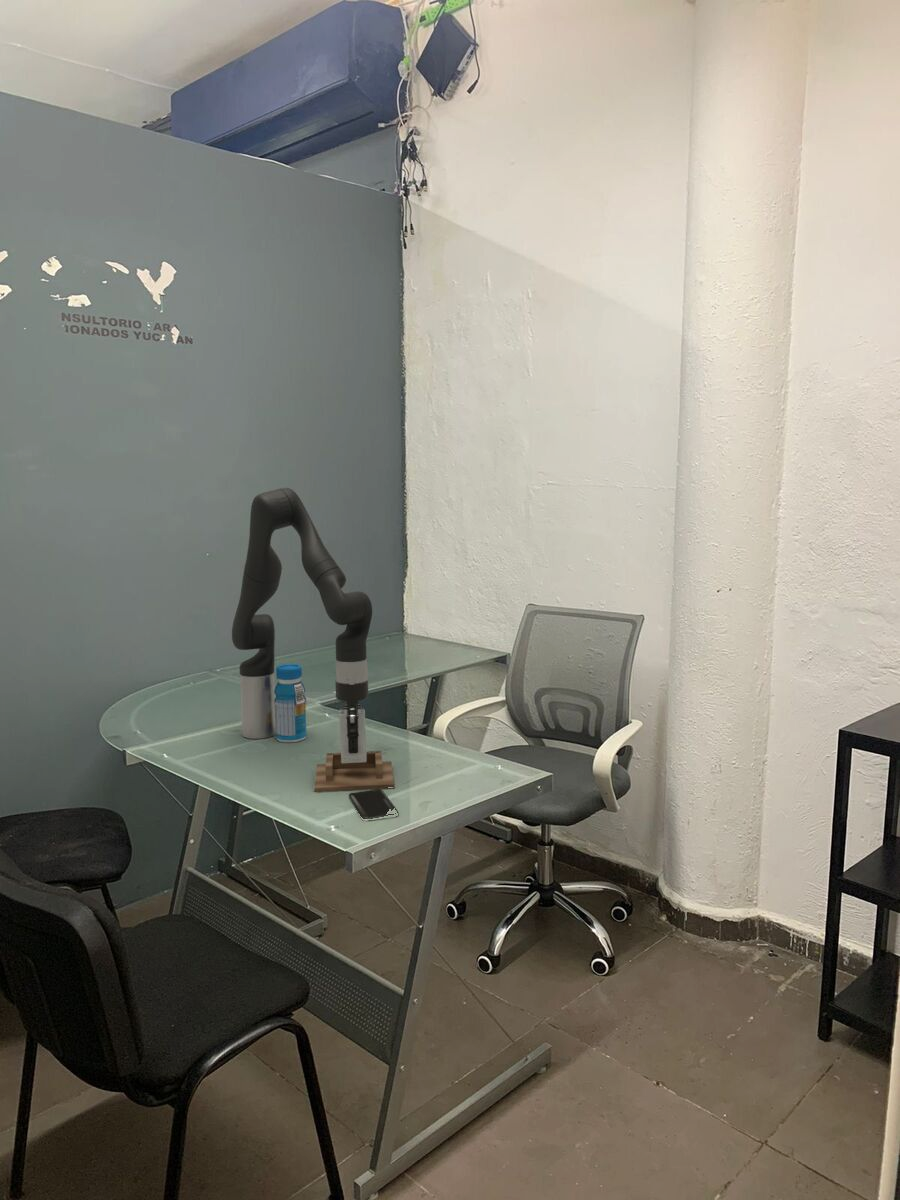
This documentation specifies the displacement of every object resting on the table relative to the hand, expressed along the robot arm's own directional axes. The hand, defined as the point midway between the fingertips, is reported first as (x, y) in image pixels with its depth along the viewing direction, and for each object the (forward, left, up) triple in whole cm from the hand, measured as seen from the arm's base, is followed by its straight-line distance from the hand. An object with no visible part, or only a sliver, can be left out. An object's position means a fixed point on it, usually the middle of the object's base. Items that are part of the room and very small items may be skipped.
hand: (353, 749), depth 202 cm
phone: (+18, +4, -8) cm, 20 cm away
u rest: (0, 0, -7) cm, 7 cm away
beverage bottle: (-33, -17, -7) cm, 38 cm away
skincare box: (0, 0, -3) cm, 3 cm away
